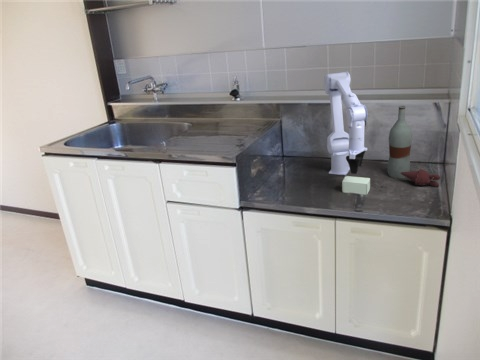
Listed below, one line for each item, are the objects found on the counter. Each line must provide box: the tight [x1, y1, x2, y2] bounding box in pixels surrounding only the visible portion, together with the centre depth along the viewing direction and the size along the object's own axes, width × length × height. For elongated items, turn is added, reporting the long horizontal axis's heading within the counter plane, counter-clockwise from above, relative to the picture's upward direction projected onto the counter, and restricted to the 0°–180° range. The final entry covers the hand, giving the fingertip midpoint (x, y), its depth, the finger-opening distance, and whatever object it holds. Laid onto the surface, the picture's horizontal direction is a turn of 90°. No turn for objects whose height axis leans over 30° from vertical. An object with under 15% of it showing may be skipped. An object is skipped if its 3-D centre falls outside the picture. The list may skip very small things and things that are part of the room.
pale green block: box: [341, 175, 371, 196], centre depth 162 cm, size 6×10×5 cm, turn 62°
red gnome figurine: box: [401, 168, 441, 188], centre depth 160 cm, size 7×7×15 cm
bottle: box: [387, 105, 413, 180], centre depth 166 cm, size 9×9×30 cm
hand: (356, 169), depth 159 cm, fingers open, 7 cm apart
